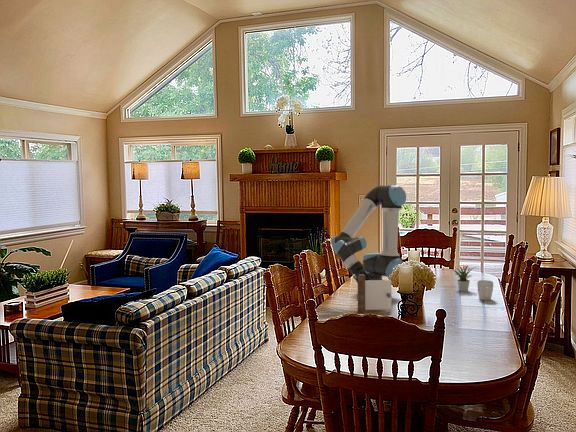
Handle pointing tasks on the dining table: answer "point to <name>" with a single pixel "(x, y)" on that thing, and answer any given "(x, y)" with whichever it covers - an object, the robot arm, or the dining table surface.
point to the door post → (361, 293)
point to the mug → (485, 289)
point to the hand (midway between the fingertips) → (380, 298)
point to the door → (377, 294)
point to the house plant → (463, 278)
